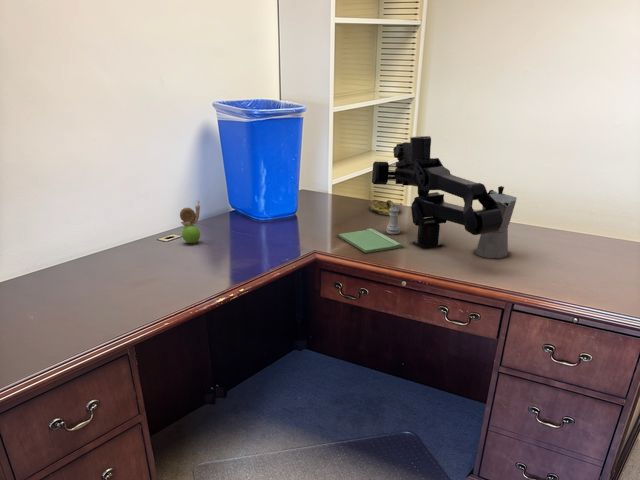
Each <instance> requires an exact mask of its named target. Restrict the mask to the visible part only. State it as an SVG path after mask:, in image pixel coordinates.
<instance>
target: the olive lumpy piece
mask: <svg viewBox="0 0 640 480" xmlns="http://www.w3.org/2000/svg"><path fill="white" fill-rule="evenodd" d="M394 205H395V204H394V201H392V200H391V199H387V200H386V201H384V200H377V201H376V202H375V203H372V204H371V205H370V210H371V212H373V213H376V214H379V215H381V216H390V210H389V209H390V207H391V206H393V207H394ZM397 206H398V205H396V207H397ZM399 213H400V211H399V212H398V214H399Z"/></svg>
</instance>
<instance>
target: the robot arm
mask: <svg viewBox="0 0 640 480" xmlns="http://www.w3.org/2000/svg"><path fill="white" fill-rule="evenodd" d="M431 145H432V136H428V135H422V136H419V135H418V136H411V137H410V138H409V142H408V141H407V142H406V141H405V142H402V143H396V146H394V147H393V151H392V152H393V157H394V158H395V159H397V161H396V162H395V170H394V171H390V165H389V162H388V161H378V160H377V161H374V162H373V163H372V173H371V183H372V184H373V185H377V186H378V185H387V183H388V181H395V182H394V183H395V185H402V186H412V187H417V196H415V197H414V199H413V201H412V203H411V206H410V208H411V219H412V224H414V226H416V227H417V239H416V240H413V241H412V243H413V244H414V245H416V246H418V247H420V248H422V249H430V248H435V247H443V243H442V242H440V241H439V240H440V239H439V238H440V231H441V230H440V229H441V224H447V222H451V223H454V224H458V225H460V226H463V227H464V230H465V231H466V232H467V233H469V234H470V235H473V236H478V235H479V236H481V234H486V233H492V232H497V231H498V230H499V229H500V227H501V225H502V222H503V217H502V214H501V212H500V209H499V206H498V204H497V202H496V201H495V200H494V199H493V198H492V197H491V196H490V195H489V194H488V190H487V188H486V185H485V184H484V183H481V182H475V181H472V180H469V179H466V178H463V177H460V176H456V175H453V174H452V173H451V171H450V170H449V169H448V168H447V167H445V166H444V165H443V162H442V161H441V160H440V158H439V157H434V158H432V157H431V149H432V148H431V147H432V146H431ZM431 191H436V192H431ZM438 191H442V192H444V193H446V194H449V195H453V196H456V197H457V198H461V199H462V200H463V202H464V205H463V206H462V205H458V204H454V203H450V202H446V201H445V194H444V193H440V192H438ZM474 201H478V202H479V204H481V206H482V205H483V206H484V207H485V208H486V209H482V208H480V209H479V208H478V209H474V208H473V202H474Z"/></svg>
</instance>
